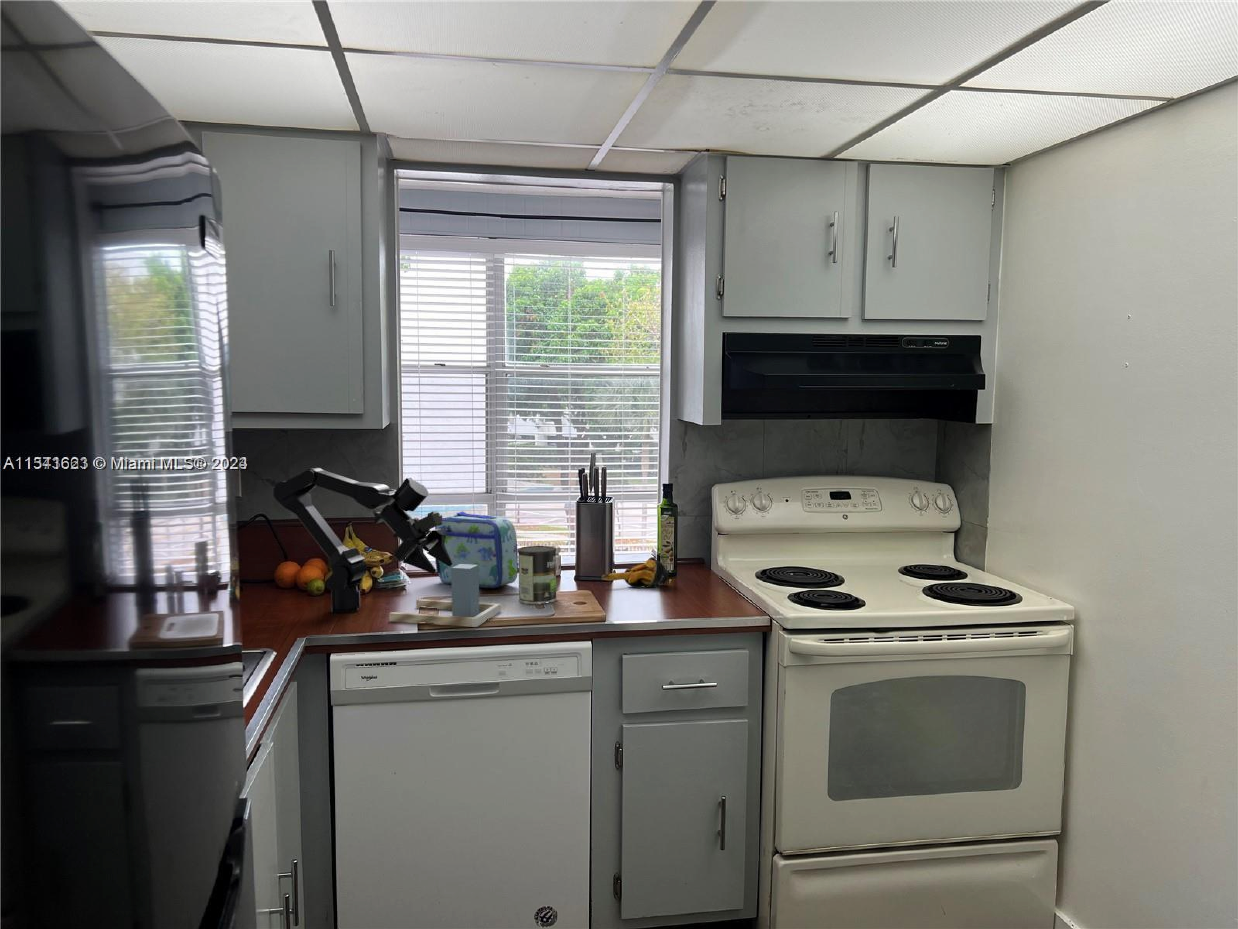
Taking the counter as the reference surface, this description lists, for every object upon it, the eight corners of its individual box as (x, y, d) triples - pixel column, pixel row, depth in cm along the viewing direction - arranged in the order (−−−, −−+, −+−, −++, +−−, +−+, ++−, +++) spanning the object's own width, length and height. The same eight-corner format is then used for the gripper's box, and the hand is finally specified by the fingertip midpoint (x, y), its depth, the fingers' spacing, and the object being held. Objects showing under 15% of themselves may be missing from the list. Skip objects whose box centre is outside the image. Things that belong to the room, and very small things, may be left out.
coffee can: (561, 596, 240) (560, 545, 238) (550, 605, 230) (550, 552, 228) (525, 595, 242) (524, 544, 241) (513, 603, 232) (512, 551, 230)
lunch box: (430, 582, 258) (428, 512, 257) (456, 576, 267) (454, 508, 265) (496, 593, 244) (495, 519, 242) (521, 586, 253) (520, 514, 251)
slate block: (452, 619, 216) (451, 567, 215) (461, 614, 221) (459, 564, 219) (471, 620, 214) (469, 568, 213) (479, 615, 219) (478, 564, 218)
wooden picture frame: (389, 621, 214) (389, 613, 214) (418, 606, 229) (418, 599, 229) (476, 627, 209) (476, 618, 208) (500, 611, 223) (500, 603, 223)
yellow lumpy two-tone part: (677, 572, 248) (621, 557, 241) (660, 603, 251) (605, 589, 244) (668, 555, 256) (613, 540, 249) (652, 585, 259) (598, 571, 252)
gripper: (403, 506, 209) (446, 553, 207) (438, 497, 227) (478, 540, 225) (375, 538, 212) (417, 584, 210) (412, 526, 230) (451, 569, 228)
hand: (443, 568), depth 218 cm, fingers open, 9 cm apart
